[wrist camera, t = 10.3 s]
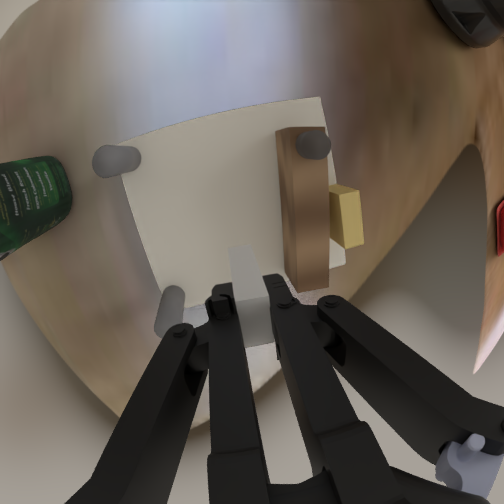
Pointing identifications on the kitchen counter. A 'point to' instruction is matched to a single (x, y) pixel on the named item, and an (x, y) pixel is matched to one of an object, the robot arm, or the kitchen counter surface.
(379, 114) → the kitchen counter surface
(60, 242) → the kitchen counter surface
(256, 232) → the white board with blocks
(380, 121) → the kitchen counter surface
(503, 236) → the butter dish
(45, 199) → the coffee jar
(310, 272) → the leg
